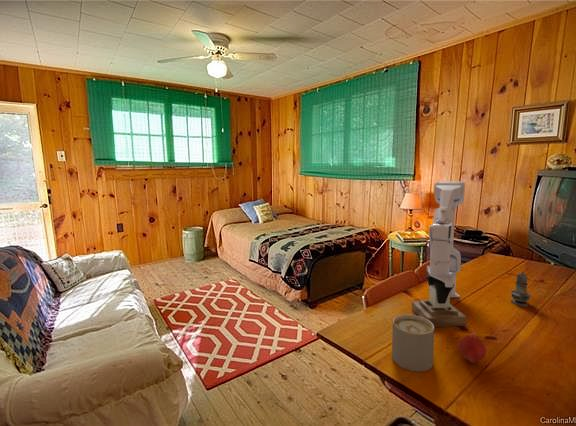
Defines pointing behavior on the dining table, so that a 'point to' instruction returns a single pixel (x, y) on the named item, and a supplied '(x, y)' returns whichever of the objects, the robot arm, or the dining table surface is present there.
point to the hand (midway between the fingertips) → (438, 299)
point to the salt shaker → (520, 291)
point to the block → (434, 298)
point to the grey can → (413, 342)
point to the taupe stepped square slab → (439, 314)
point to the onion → (472, 348)
